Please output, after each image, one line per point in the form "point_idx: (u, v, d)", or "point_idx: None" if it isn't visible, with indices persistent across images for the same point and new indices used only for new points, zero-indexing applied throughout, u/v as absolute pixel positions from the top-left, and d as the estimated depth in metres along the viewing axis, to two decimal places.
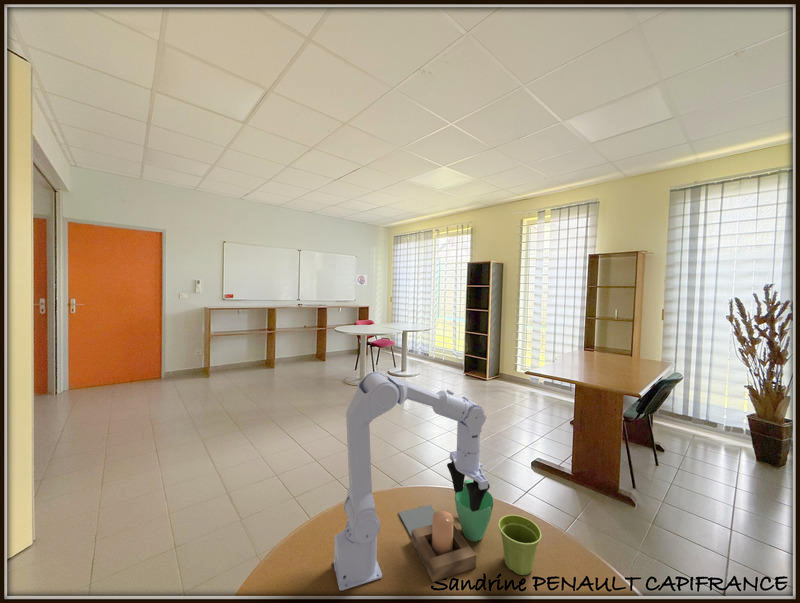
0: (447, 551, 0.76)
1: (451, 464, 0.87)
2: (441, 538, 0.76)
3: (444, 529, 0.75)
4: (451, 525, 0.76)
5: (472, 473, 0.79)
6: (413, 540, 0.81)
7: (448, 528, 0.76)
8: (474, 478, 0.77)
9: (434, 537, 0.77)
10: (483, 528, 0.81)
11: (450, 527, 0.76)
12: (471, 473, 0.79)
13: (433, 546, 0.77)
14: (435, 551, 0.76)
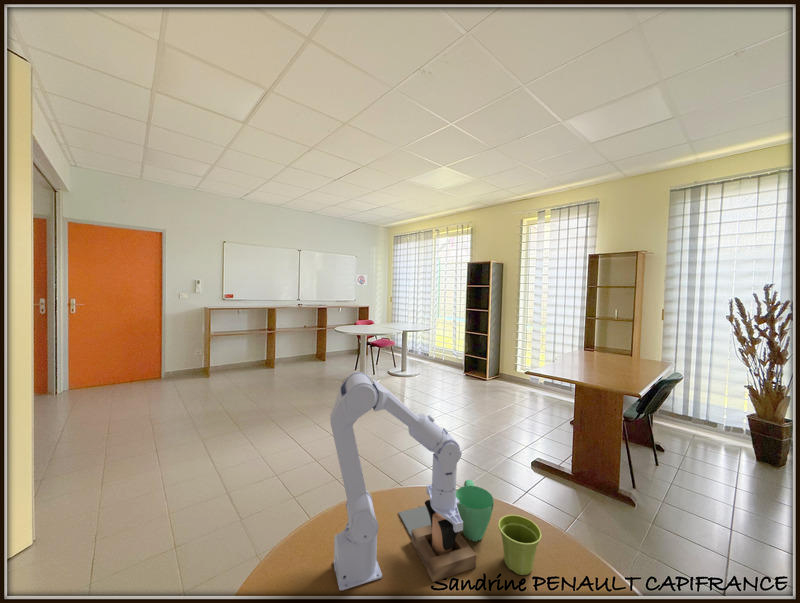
0: (447, 551, 0.76)
1: (429, 502, 0.81)
2: (441, 538, 0.76)
3: None
4: None
5: (447, 512, 0.75)
6: (413, 540, 0.81)
7: None
8: (449, 519, 0.72)
9: (434, 537, 0.77)
10: (483, 528, 0.81)
11: None
12: (446, 512, 0.75)
13: (433, 546, 0.77)
14: (435, 551, 0.76)
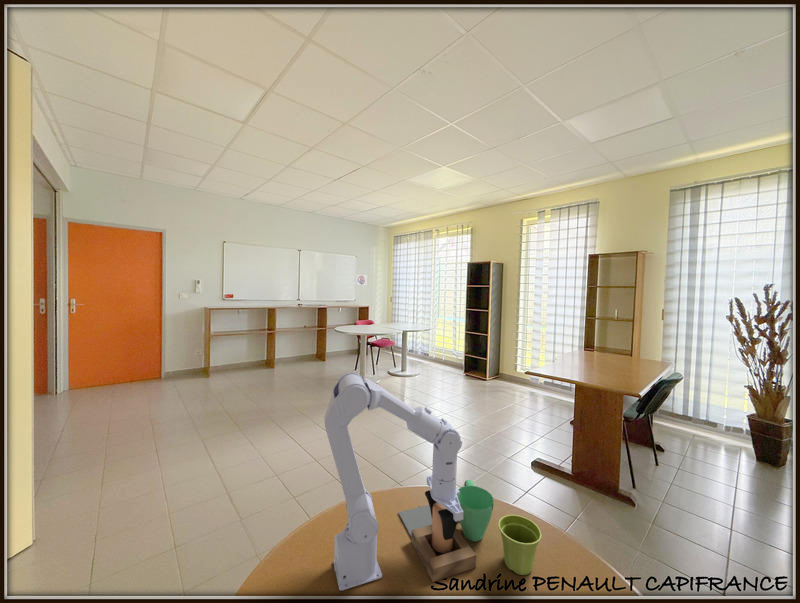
0: (447, 541, 0.76)
1: (429, 492, 0.81)
2: (441, 528, 0.75)
3: None
4: None
5: (447, 502, 0.74)
6: (413, 540, 0.81)
7: None
8: (449, 508, 0.72)
9: (434, 527, 0.77)
10: (483, 528, 0.81)
11: None
12: (446, 502, 0.74)
13: (433, 536, 0.77)
14: (435, 541, 0.76)
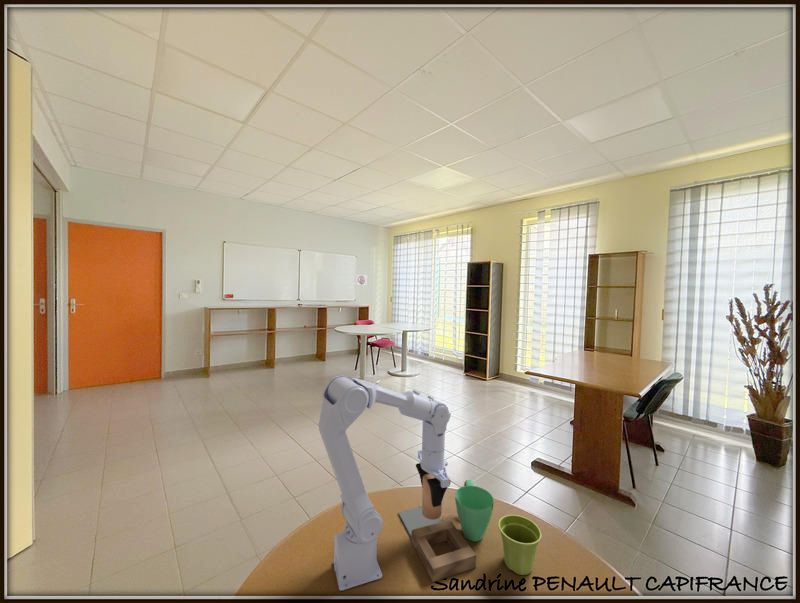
0: (436, 508, 0.81)
1: (420, 464, 0.87)
2: (430, 496, 0.81)
3: None
4: None
5: (436, 471, 0.80)
6: (413, 540, 0.81)
7: None
8: (437, 476, 0.78)
9: (424, 496, 0.82)
10: (483, 528, 0.81)
11: None
12: (435, 471, 0.80)
13: (423, 504, 0.83)
14: (425, 509, 0.82)
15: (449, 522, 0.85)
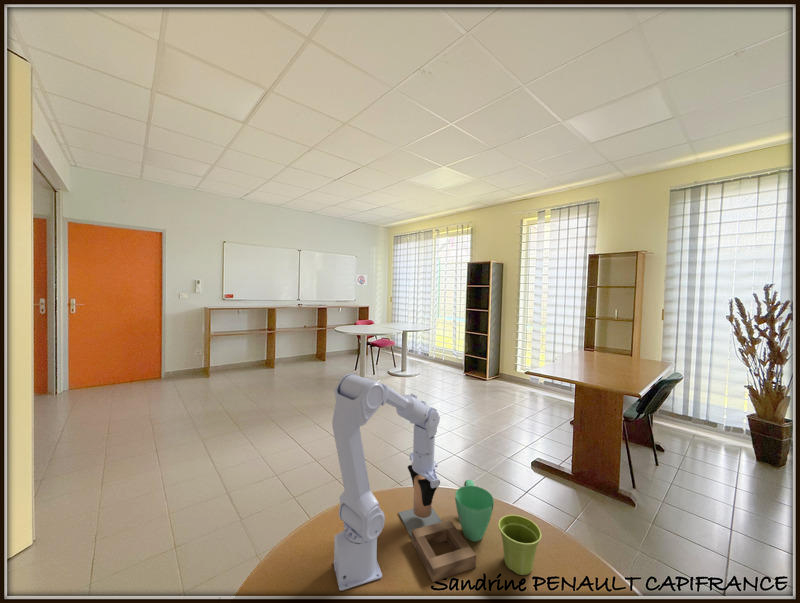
0: (426, 507, 0.86)
1: (411, 466, 0.92)
2: (421, 495, 0.86)
3: None
4: None
5: (426, 473, 0.85)
6: (413, 540, 0.81)
7: None
8: (427, 477, 0.83)
9: (415, 495, 0.87)
10: (483, 528, 0.81)
11: None
12: (425, 473, 0.85)
13: (414, 504, 0.88)
14: (416, 508, 0.87)
15: (449, 522, 0.85)
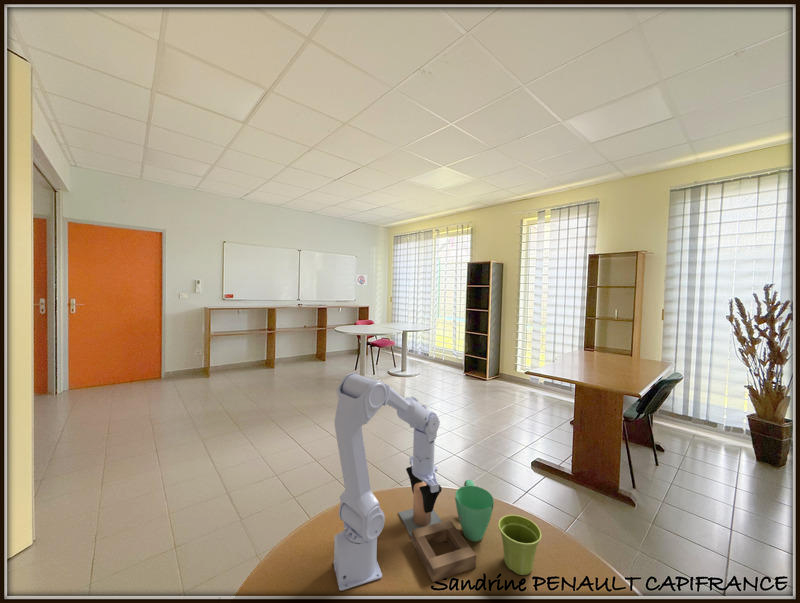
0: (426, 516, 0.87)
1: (410, 468, 0.93)
2: (420, 504, 0.86)
3: None
4: None
5: (426, 477, 0.85)
6: (413, 540, 0.81)
7: None
8: (426, 482, 0.83)
9: (415, 504, 0.88)
10: (483, 528, 0.81)
11: None
12: (425, 477, 0.85)
13: (414, 512, 0.88)
14: (415, 516, 0.87)
15: (449, 522, 0.85)
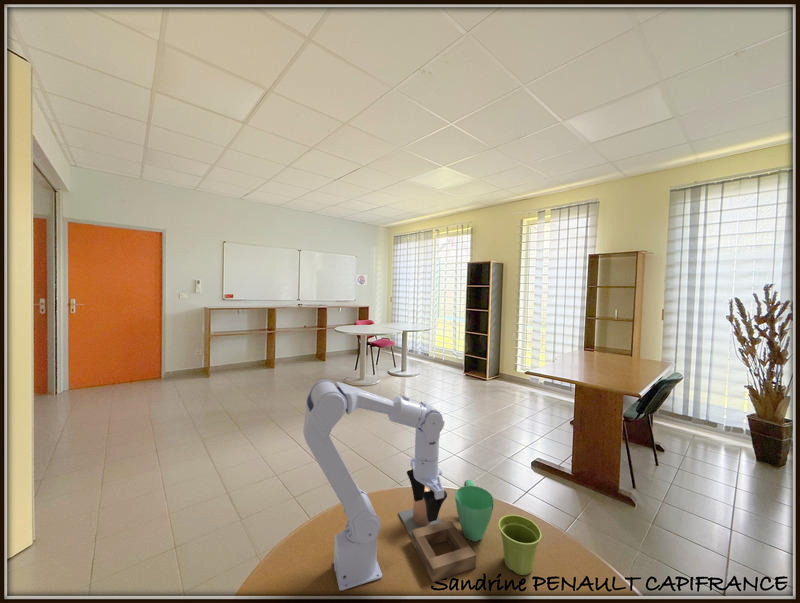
0: (426, 516, 0.87)
1: (411, 471, 0.83)
2: (420, 504, 0.86)
3: None
4: None
5: (429, 482, 0.76)
6: (413, 540, 0.81)
7: None
8: (430, 487, 0.74)
9: (415, 504, 0.87)
10: (483, 528, 0.81)
11: None
12: (428, 482, 0.76)
13: (414, 512, 0.88)
14: (415, 516, 0.87)
15: (449, 522, 0.85)
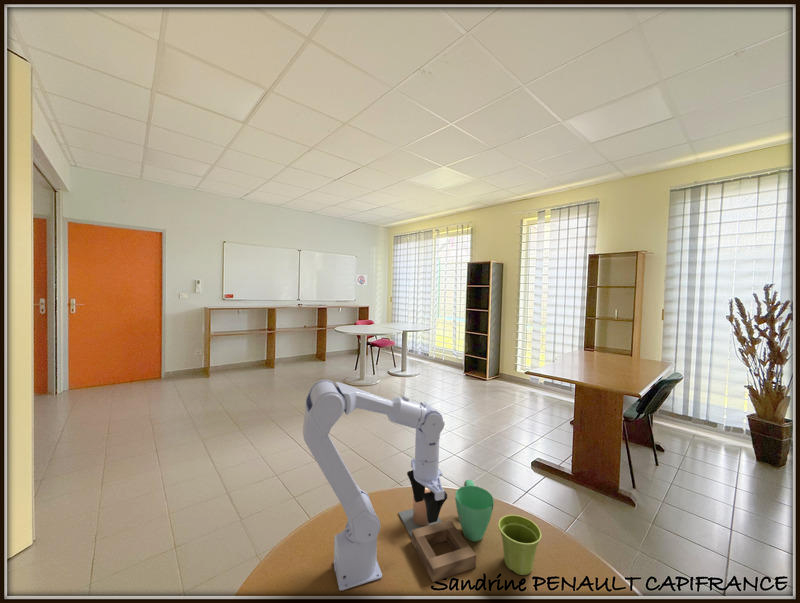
0: (426, 515, 0.87)
1: (411, 472, 0.83)
2: (420, 503, 0.87)
3: None
4: None
5: (429, 483, 0.75)
6: (413, 540, 0.81)
7: None
8: (430, 488, 0.73)
9: (415, 503, 0.88)
10: (483, 528, 0.81)
11: None
12: (428, 483, 0.75)
13: (414, 512, 0.88)
14: (416, 516, 0.87)
15: (449, 522, 0.85)
